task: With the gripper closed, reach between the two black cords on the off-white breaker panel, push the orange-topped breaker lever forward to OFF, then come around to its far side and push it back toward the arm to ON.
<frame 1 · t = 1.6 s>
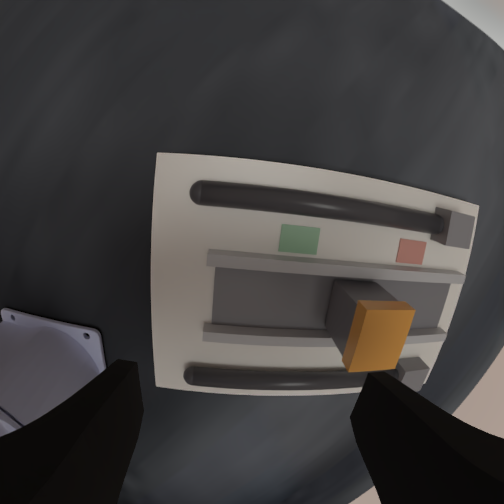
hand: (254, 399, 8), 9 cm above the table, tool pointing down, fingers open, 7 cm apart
breaker panel: (325, 291, 18), on the table
breaker lever: (365, 321, 14), point 4 cm above the table, slide at 0.0 cm
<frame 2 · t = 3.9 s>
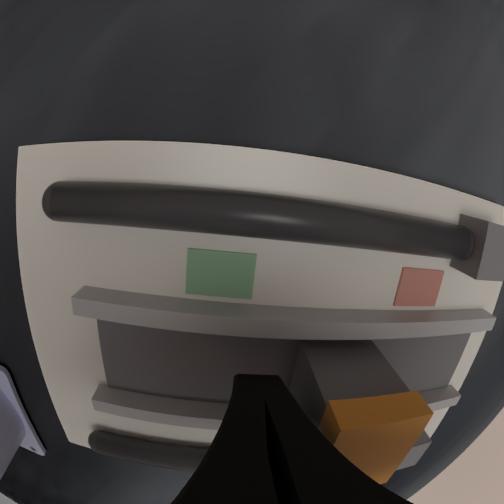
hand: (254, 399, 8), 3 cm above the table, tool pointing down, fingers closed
breaker panel: (279, 345, 11), on the table
breaker lever: (345, 411, 8), point 4 cm above the table, slide at 0.5 cm, touching gripper
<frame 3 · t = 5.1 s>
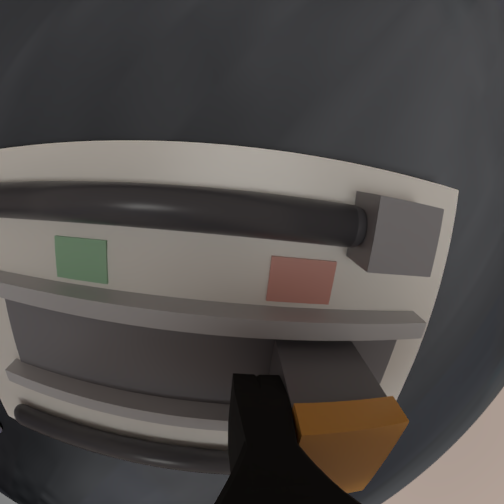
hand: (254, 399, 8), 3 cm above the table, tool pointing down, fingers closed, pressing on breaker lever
breaker panel: (163, 336, 11), on the table
breaker lever: (320, 415, 7), point 4 cm above the table, slide at 4.2 cm, touching gripper
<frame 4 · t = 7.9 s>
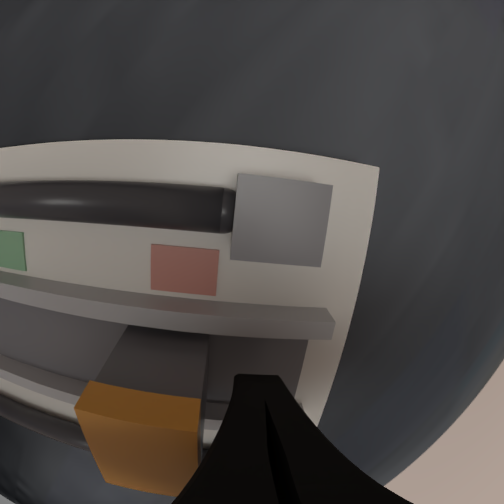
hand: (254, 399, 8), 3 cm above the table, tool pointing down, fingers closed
breaker panel: (83, 323, 10), on the table
breaker lever: (156, 406, 7), point 4 cm above the table, slide at 3.1 cm, touching gripper
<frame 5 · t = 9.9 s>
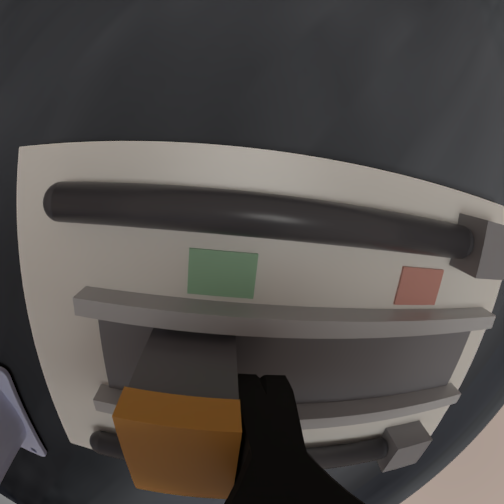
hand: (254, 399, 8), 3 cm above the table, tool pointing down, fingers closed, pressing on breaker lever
breaker panel: (280, 344, 11), on the table
breaker lever: (186, 409, 7), point 4 cm above the table, slide at -4.2 cm, touching gripper
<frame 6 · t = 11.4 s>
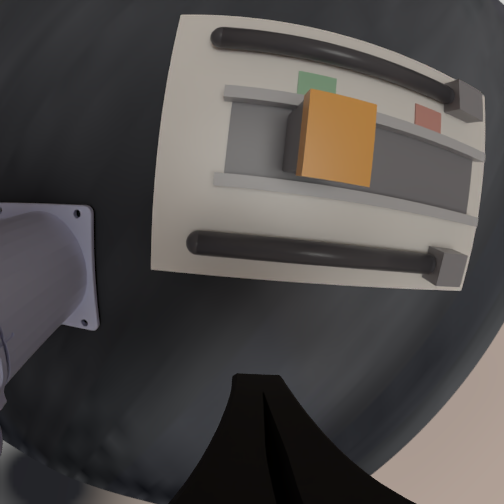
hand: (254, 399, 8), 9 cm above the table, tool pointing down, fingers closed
breaker panel: (346, 157, 16), on the table
breaker lever: (324, 142, 12), point 4 cm above the table, slide at -3.6 cm
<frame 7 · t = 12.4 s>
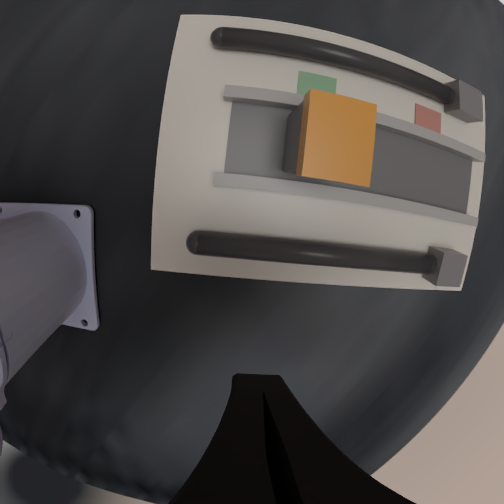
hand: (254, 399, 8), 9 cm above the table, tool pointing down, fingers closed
breaker panel: (346, 157, 16), on the table
breaker lever: (324, 142, 12), point 4 cm above the table, slide at -3.6 cm
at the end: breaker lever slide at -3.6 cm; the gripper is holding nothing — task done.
